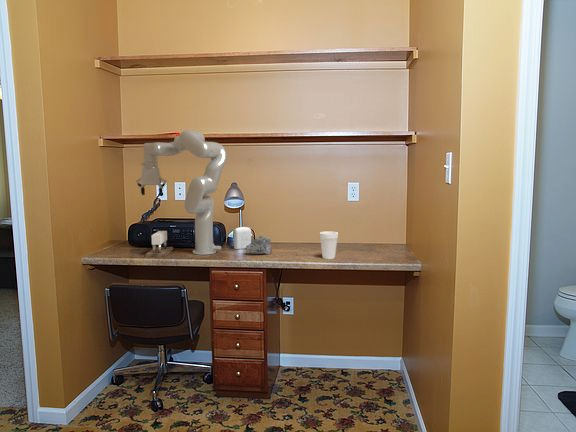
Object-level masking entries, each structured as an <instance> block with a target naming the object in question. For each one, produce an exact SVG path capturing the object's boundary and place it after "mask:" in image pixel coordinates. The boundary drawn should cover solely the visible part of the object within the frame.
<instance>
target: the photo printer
mask: <svg viewBox="0 0 576 432" xmlns="http://www.w3.org/2000/svg"><path fill="white" fill-rule="evenodd" d="M251 242H252V228H250V227H249V226H248V227H247V226H240V227H236V228H235V229H234V230H233V247H234V250H241V249H242V250H243V249H245V250H246V246H247V245H249V244H250V243H251Z"/></svg>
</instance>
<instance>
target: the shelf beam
mask: <svg viewBox="0 0 576 432" xmlns="http://www.w3.org/2000/svg"><path fill="white" fill-rule="evenodd" d="M165 241H166V242H167V241H168V231H167V230H158V231H157V232H155V233H153V234H151V245H152V246H153V245H156V246H158V245H161V246H162V244H164V242H165Z"/></svg>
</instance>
